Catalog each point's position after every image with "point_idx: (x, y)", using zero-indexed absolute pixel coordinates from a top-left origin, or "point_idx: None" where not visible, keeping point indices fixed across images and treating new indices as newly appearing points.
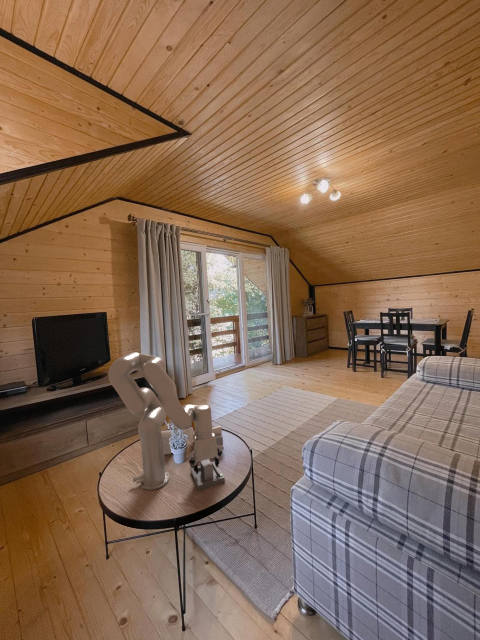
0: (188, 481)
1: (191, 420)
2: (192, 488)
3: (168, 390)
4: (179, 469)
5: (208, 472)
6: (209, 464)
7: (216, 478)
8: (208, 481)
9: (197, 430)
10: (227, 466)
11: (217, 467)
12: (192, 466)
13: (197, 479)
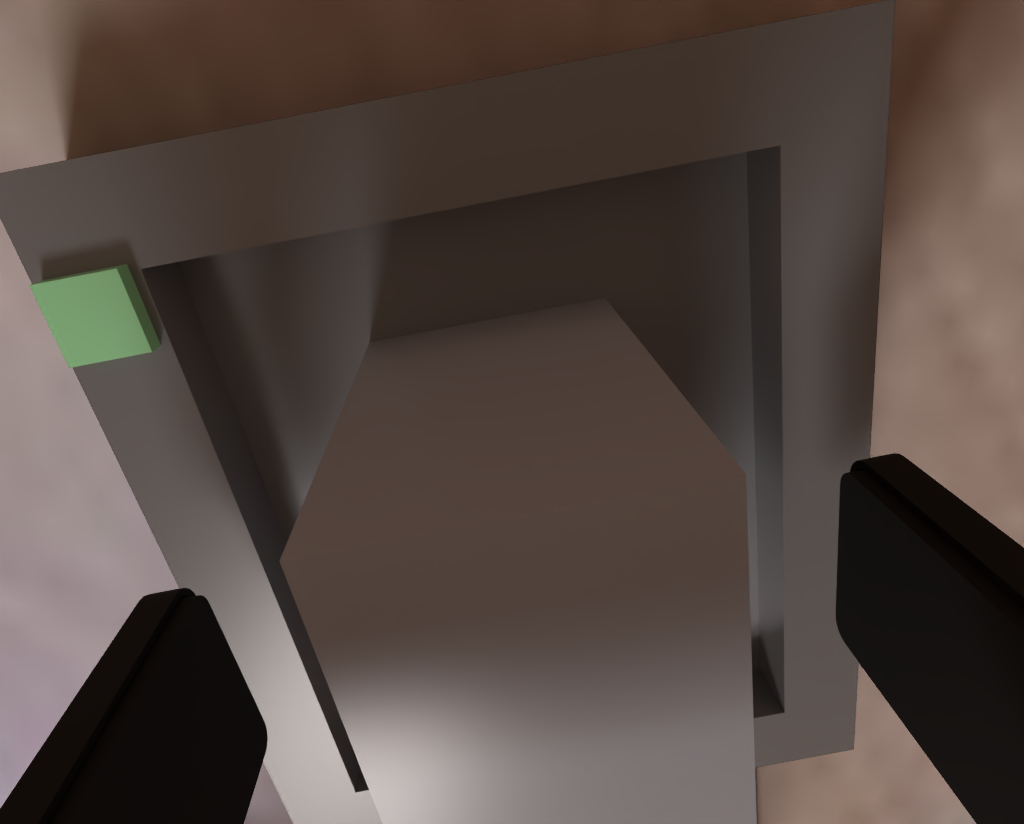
0: (929, 449)
1: None
2: (928, 177)
3: None
4: None
5: (512, 395)
6: (441, 669)
7: (266, 205)
8: (538, 135)
9: None
10: (43, 686)
11: (183, 589)
12: (756, 807)
13: (822, 345)
